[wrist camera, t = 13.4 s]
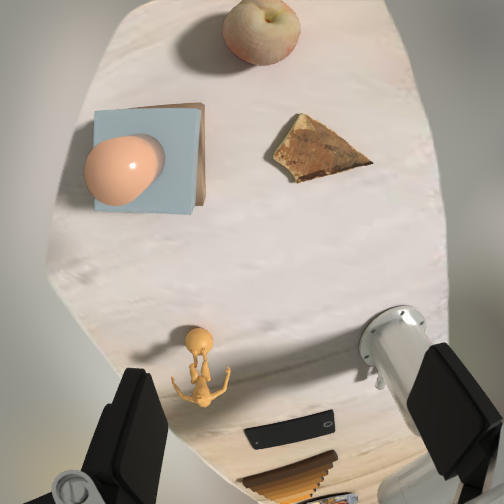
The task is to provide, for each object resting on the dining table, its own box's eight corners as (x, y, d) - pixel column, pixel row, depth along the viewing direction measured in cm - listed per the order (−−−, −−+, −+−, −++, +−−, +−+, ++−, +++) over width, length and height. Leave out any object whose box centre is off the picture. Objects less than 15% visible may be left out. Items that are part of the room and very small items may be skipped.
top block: (195, 204, 33) (190, 214, 29) (108, 201, 32) (94, 211, 28) (201, 110, 29) (196, 108, 25) (109, 111, 28) (94, 111, 24)
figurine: (223, 316, 43) (221, 377, 32) (234, 347, 46) (237, 408, 35) (169, 328, 44) (154, 387, 33) (184, 357, 46) (175, 417, 35)
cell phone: (334, 429, 58) (335, 432, 57) (254, 447, 58) (254, 450, 58) (332, 407, 54) (333, 411, 53) (244, 427, 55) (244, 430, 54)
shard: (369, 161, 36) (375, 163, 35) (336, 209, 39) (340, 213, 37) (300, 110, 33) (304, 109, 32) (265, 162, 36) (267, 164, 34)
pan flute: (332, 447, 61) (242, 476, 65) (335, 458, 58) (242, 486, 62) (356, 473, 71) (282, 498, 74) (359, 482, 68) (283, 506, 71)
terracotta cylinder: (167, 184, 28) (149, 203, 21) (117, 188, 27) (88, 208, 21) (163, 130, 26) (144, 134, 19) (113, 136, 25) (81, 143, 19)
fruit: (306, 44, 30) (326, 25, 22) (256, 83, 32) (263, 71, 24) (261, 0, 27) (268, -29, 20) (209, 38, 29) (203, 15, 22)
